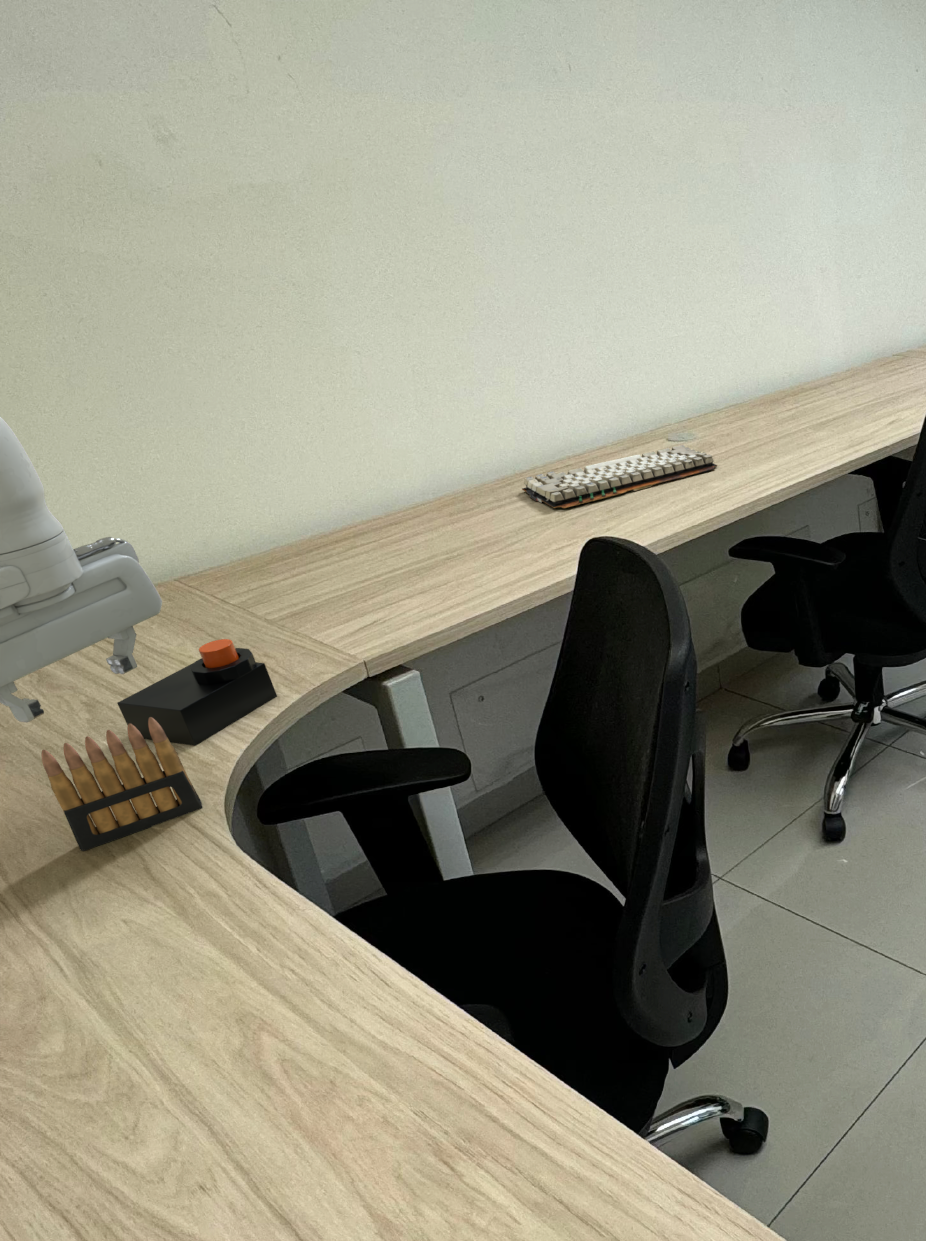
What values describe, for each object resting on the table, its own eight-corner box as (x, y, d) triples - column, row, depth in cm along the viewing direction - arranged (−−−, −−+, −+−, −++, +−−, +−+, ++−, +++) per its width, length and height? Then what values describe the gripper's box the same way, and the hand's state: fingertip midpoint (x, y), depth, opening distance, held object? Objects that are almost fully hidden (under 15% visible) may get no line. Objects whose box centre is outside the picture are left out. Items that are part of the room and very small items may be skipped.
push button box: (133, 738, 124) (110, 690, 121) (220, 689, 135) (201, 644, 132) (197, 746, 122) (176, 697, 119) (280, 695, 133) (263, 650, 130)
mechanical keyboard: (679, 452, 230) (677, 438, 229) (721, 469, 218) (719, 454, 216) (518, 493, 208) (514, 478, 206) (555, 515, 195) (551, 499, 193)
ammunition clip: (81, 851, 104) (31, 757, 99) (80, 843, 105) (31, 749, 100) (202, 808, 110) (161, 717, 105) (201, 801, 111) (160, 710, 106)
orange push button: (198, 668, 126) (191, 650, 125) (223, 654, 130) (216, 637, 129) (221, 670, 126) (213, 653, 125) (245, 657, 129) (238, 640, 128)
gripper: (101, 528, 104) (153, 643, 110) (-132, 614, 87) (-55, 745, 92) (147, 531, 103) (197, 647, 109) (-80, 618, 85) (-5, 752, 91)
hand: (80, 693), depth 100 cm, fingers open, 8 cm apart
